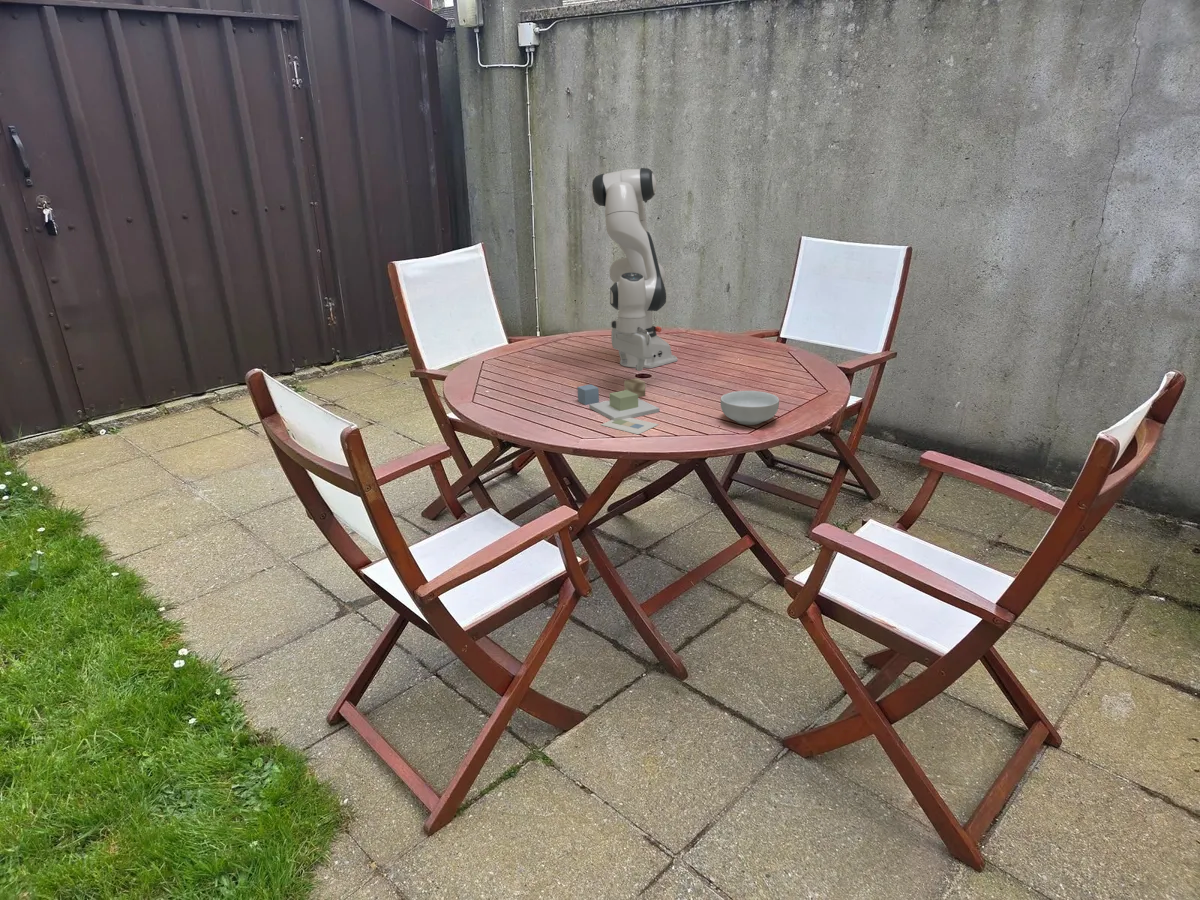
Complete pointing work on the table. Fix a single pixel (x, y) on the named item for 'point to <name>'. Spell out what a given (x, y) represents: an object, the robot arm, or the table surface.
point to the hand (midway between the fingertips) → (631, 367)
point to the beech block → (635, 386)
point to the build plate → (625, 413)
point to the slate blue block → (588, 394)
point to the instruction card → (630, 425)
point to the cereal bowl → (749, 406)
